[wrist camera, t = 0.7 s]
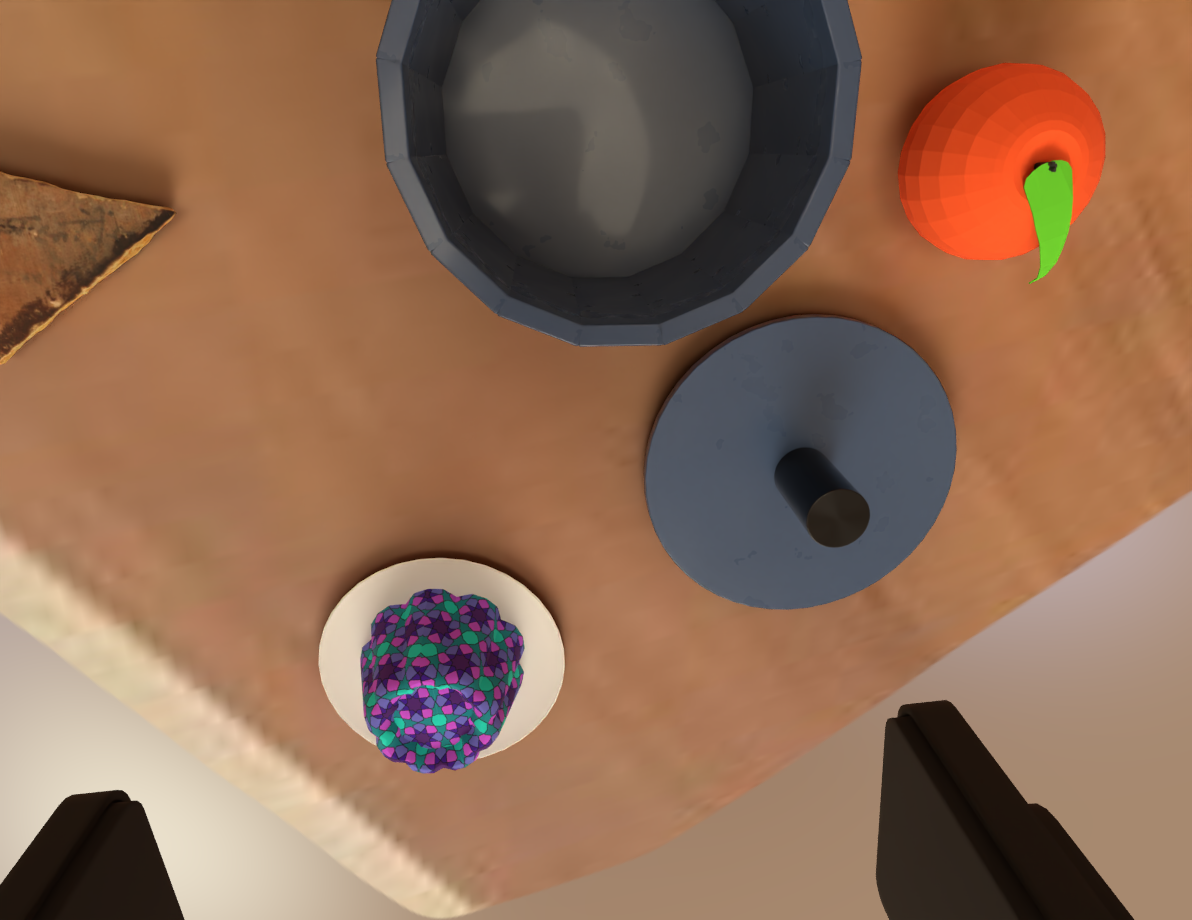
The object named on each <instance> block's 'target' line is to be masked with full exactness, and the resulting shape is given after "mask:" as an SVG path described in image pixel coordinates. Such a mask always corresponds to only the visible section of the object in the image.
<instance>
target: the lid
mask: <svg viewBox="0 0 1192 920" xmlns="http://www.w3.org/2000/svg"><path fill="white" fill-rule="evenodd" d="M955 460H956V429H955V424H954V418H953V413H952V410H951V407H950V404H949V401H948V398H947V395H946V393H945V391H944V389H943V387H942V385H941V383H940V381H939V379H938V378H937V376H936V375H935V373H934V372H933V371H932V369H931V368H930V367H929V365H928V364H927V363H926V362H925V361H924V360H923V359H922V358H921V357H920V356H919V355H918V354H917V353H916V352H915V351H914V350H913V349H912V348H911V347H909V346H908V345H907V344H905V343H904V342H903V341H901V340H900V339H898V338H897V337H895V336H894V335H892V334H890V333H888V332H886V331H884V330H882V329H880V328H878V327H876V326H874V325H871V324H868V323H865V322H862V321H859V320H856V319H852V318H847V317H842V316H837V315H822V314H808V315H796V316H789V317H784V318H779V319H775V320H770V321H767V322H764V323H762V324H759V325H756V326H753V327H750V328H748V329H746V330H744V331H742V332H740V333H738V334H736V335H734V336H732V337H730V338H728V339H727V340H725V341H724V342H722V343H721V344H719V345H718V346H716V347H715V348H713V349H711V350H710V351H709V352H708V353H707V354H705V355H704V356H703V357H702V358H701V359H700V360H698V361H697V362H696V363H695V364H694V365H693V366H692V367H691V368H690V369H689V370H688V371H687V372H686V374H685V375H684V376H683V377H682V378H681V379H680V380H679V381H678V383H677V384H676V386H675V387H674V388H673V390H672V391H671V393H670V394H669V395H668V397H667V398H666V400H665V402H664V404H663V406H662V408H661V410H660V412H659V413H658V415H657V418H656V420H655V423H654V426H653V428H652V431H651V434H650V437H649V441H648V445H647V450H646V454H645V465H644V490H645V497H646V502H647V507H648V512H649V515H650V518H651V521H652V524H653V526H654V529H655V532H656V534H657V536H658V538H659V540H660V542H661V543H662V545H663V547H664V549H665V550H666V552H667V553H668V554H669V556H670V557H671V558H672V560H673V561H674V562H675V563H676V565H677V566H678V567H679V568H680V569H681V570H682V571H683V572H684V573H685V574H686V575H687V576H689V577H690V578H691V579H693V580H694V581H695V582H697V583H698V584H699V585H700V586H702V587H704V588H705V589H707V590H709V591H711V592H712V593H714V594H716V595H718V596H721V597H723V598H726V599H728V600H730V601H733V602H736V603H740V604H744V605H747V606H751V607H758V608H766V609H798V608H808V607H813V606H818V605H822V604H827V603H830V602H833V601H836V600H839V599H842V598H845V597H847V596H850V595H852V594H854V593H856V592H858V591H861V590H863V589H864V588H866V587H868V586H870V585H871V584H873V583H875V582H876V581H878V580H880V579H881V578H882V577H884V576H885V575H887V574H888V573H889V572H891V571H892V570H893V569H895V568H896V567H897V566H898V565H899V564H900V563H901V562H902V561H903V560H905V559H906V558H907V557H908V556H909V555H910V554H911V553H912V552H913V550H914V549H915V548H916V547H917V546H918V545H919V544H920V542H921V541H922V540H923V539H924V537H925V536H926V534H927V533H928V531H929V530H930V529H931V527H932V526H933V524H934V523H935V521H936V519H937V517H938V515H939V513H940V511H941V509H942V507H943V505H944V503H945V500H946V497H947V495H948V492H949V489H950V486H951V482H952V478H953V474H954V469H955Z"/></svg>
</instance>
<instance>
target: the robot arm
mask: <svg viewBox="0 0 1192 920" xmlns="http://www.w3.org/2000/svg"><path fill="white" fill-rule="evenodd" d="M876 880H877V887H878V891H879V895H880V899H881V901H882V904H883V907H884V909H885V911H886V913H887V916H888V918H889V920H1134V919H1133V917H1132V916H1131V915H1130V913H1129V912H1128V911H1127V910H1126V908H1125V907H1124V906H1123V904H1122V903H1121V902H1120V901H1119V899H1118V898H1117V897H1116V895H1115V894H1114V893H1113V892H1112V890H1111V889H1110V888H1109V887H1108V885H1107V884H1106V883H1105V881H1104V880H1103V879H1102V877H1101V876H1100V875H1099V874H1098V872H1097V871H1096V870H1095V868H1094V867H1093V866H1092V865H1091V863H1090V862H1089V861H1088V860H1087V858H1086V857H1085V856H1084V854H1083V853H1082V852H1081V850H1080V849H1079V848H1078V847H1077V845H1076V844H1075V843H1074V841H1073V840H1072V839H1071V837H1070V836H1069V835H1068V834H1067V832H1066V831H1065V830H1064V828H1063V827H1062V826H1061V825H1060V823H1059V822H1058V821H1057V820H1056V819H1055V818H1054V816H1053V815H1052V814H1051V813H1050V812H1049V811H1048V810H1047V809H1046V808H1044V807H1042V806H1040V805H1038V804H1028V803H1027V802H1026V801H1025V799H1024V798H1023V797H1022V795H1021V794H1020V793H1019V791H1018V790H1017V789H1016V787H1015V786H1014V785H1013V783H1012V782H1011V781H1010V779H1009V778H1008V777H1007V775H1006V774H1005V773H1004V771H1003V770H1002V769H1001V767H1000V766H999V765H998V763H997V762H996V761H995V759H994V758H993V757H992V755H991V754H990V753H989V751H988V750H987V749H986V747H985V746H984V745H983V743H982V742H981V741H980V739H979V738H978V737H977V735H976V734H975V733H974V731H973V730H972V729H971V727H970V726H969V725H968V723H967V722H966V721H965V719H964V718H963V717H962V715H961V714H960V713H959V711H958V710H957V709H956V707H955V706H954V705H953V704H952V703H951V702H949V701H947V700H942V701H933V702H924V703H914V704H906V705H902V706H901V707H900V709H899V711H898V717H897V718H890V719H888V720H887V722H886V727H885V741H884V758H883V773H882V788H881V803H880V818H879V834H878V850H877V865H876ZM0 920H184V917H183V914H182V911H181V909H180V906H179V903H178V901H177V898H176V895H175V893H174V890H173V887H172V884H171V881H170V879H169V876H168V873H167V870H166V868H165V865H164V862H163V859H162V857H161V854H160V852H159V848H158V846H157V843H156V840H155V838H154V835H153V832H152V829H151V827H150V824H149V821H148V819H147V816H146V813H145V810H144V808H143V806H142V804H141V803H139V802H138V801H131V800H130V798H129V796H128V794H126V793H125V792H124V791H122V790H113V791H104V792H95V793H86V794H76V795H71V796H69V797H67V798H65V800H64V801H63V802H62V803H61V804H60V805H59V806H58V807H57V809H56V810H55V811H54V813H53V814H52V815H51V817H50V818H49V820H48V821H47V822H46V824H45V825H44V826H43V828H42V829H41V830H40V832H39V833H38V834H37V836H36V837H35V838H34V840H33V841H32V843H31V844H30V845H29V847H28V848H27V849H26V851H25V852H24V853H23V855H22V856H21V858H20V859H19V860H18V862H17V863H16V865H15V866H14V867H13V868H12V870H11V871H10V872H9V874H8V875H7V877H6V878H5V879H4V881H3V882H2V883H1V885H0Z"/></svg>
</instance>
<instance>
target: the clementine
mask: <svg viewBox="0 0 1192 920" xmlns="http://www.w3.org/2000/svg"><path fill="white" fill-rule="evenodd" d="M1104 160H1105V131H1104V127H1103V123H1102V120H1101V116H1100V112H1099V111H1098V109H1097V108H1096V106H1095V104H1094V103H1093V101H1092V100H1091V98H1090V96H1089V95H1088V94H1087V93H1086V92H1085V91H1084V90H1083V89H1082V88H1081V87H1080V86H1078V85H1077V84H1076V83H1075V82H1074V81H1072V80H1071V79H1070V78H1069V77H1068V76H1066V75H1065V74H1064V73H1062V72H1059V71H1056V70H1054V69H1051V68H1048V67H1046V66H1043V65H1036V64H1021V63H1002V64H998V65H994V66H990V67H986V68H982V69H979V70H976V71H974V72H972V73H970V74H968V75H966V76H964V77H962V78H961V79H959V80H957V81H955V82H954V83H952V84H950V85H948V86H946V87H945V88H944V89H943V90H942V91H941V92H939V93H938V94H937V95H936V96H935V97H934V98H933V99H932V100H931V101H930V102H929V103H928V104H927V105H926V106H925V107H924V109H923V110H922V112H921V113H920V115H919V116H918V117H917V119H916V120H915V122H914V123H913V125H912V126H911V128H910V131H909V133H908V136H907V138H906V141H905V143H904V146H903V148H902V151H901V156H900V162H899V169H898V180H899V191H900V199H901V202H902V204H903V207H904V210H905V213H906V215H907V218H908V220H909V221H910V222H911V224H912V225H913V226H914V228H915V229H916V230H917V232H918V233H919V234H920V235H921V236H922V237H923V238H925V239H926V240H928V241H929V242H930V243H932V244H933V245H935V246H936V247H937V248H939V249H941V250H942V251H944V252H946V253H948V254H951V255H955V256H958V257H961V258H964V259H974V260H1003V259H1007V258H1011V257H1015V256H1019V255H1023V254H1025V253H1027V252H1029V251H1031V250H1033V249H1035V248H1037V247H1039V250H1040V269H1039V273H1038V276H1037V278H1036V279H1034V280H1033V281H1031V282H1030V283H1032V282H1034V281H1036V280H1038V279H1040V278H1042V277H1044V276H1046V274H1047V273H1048V272H1049V271H1050V270H1051V268H1052V267H1053V266H1054V265H1055V263H1056V262H1057V260H1058V258H1059V256H1060V253H1061V251H1062V249H1063V246H1064V243H1065V240H1066V237H1067V234H1068V231H1069V226H1070V225H1071V224H1072V223H1073V222H1074V221H1075V220H1076V219H1077V217H1078V216H1079V215H1080V213H1081V212H1082V211H1083V210H1084V208H1085V207H1086V206H1087V204H1088V203H1089V201H1090V199H1091V197H1092V195H1093V193H1094V191H1095V189H1096V187H1097V185H1098V183H1099V181H1100V177H1101V173H1102V168H1103V164H1104ZM1030 283H1029V284H1030Z"/></svg>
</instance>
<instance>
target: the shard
mask: <svg viewBox="0 0 1192 920" xmlns="http://www.w3.org/2000/svg"><path fill="white" fill-rule="evenodd" d="M175 214H176V212H175V211H173V209H172V208H169V207H161V206H154V205H148V204H142V203H137V202H132V201H127V200H118V199H109V198H104V197H101V196H96V195H89V194H84V193H79V192H75V191H71V190H66V189H62V188H59V187H57V186H55V185H52V184H49V183H47V182H44V181H39V180H33V179H30V178H26V177H17V176H13V175H9V174H6V173H3V172H0V364H5V363H6V362H7V361H8V360H9V359H10V358H11V357H12V356H13V355H14V354H15V353H16V351H17V350H18V349H20V348H21V347H22V346H23V344H24V343H25V342H26V341H27V340H29V339H30V338H32V337H33V336H34V335H35V334H36V333H37V332H39V331H41V330H43V329H44V328H45V327H46V326H47V325H48V324H49V323H50V322H51V321H52V320H53V319H54V318H55V317H56V315H57V314H58V313H59V312H60V311H62V310H64V309H66V308H67V307H68V306H69V305H71V304H72V303H73V302H74V301H76V300H77V299H78V298H80V297H81V296H82V295H84V294H87V293H88V291H89V290H90V289H91V288H93V287H94V286H95V285H96V284H97V283H99V282H100V281H102V280H103V279H104V278H105V277H106V276H107V275H109V274H111V273H112V272H114V271H115V270H116V269H117V268H119V267H120V266H121V265H122V264H123V263H125V262H126V261H128V260H129V259H130V258H132V257H133V256H135V255H136V254H137V253H138V252H139V251H140V250H141V249H142V248H143V247H144V246H145V245H146V244H148V243H149V242H150V241H151V239H152V238H153V236H154V234H155V233H156V232H158V231H159V230H160V229H161V228H162V227H163V226H164V225H166V224H167V223H168V222H169V221H171V220H172V218H173V217H174V216H175Z"/></svg>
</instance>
